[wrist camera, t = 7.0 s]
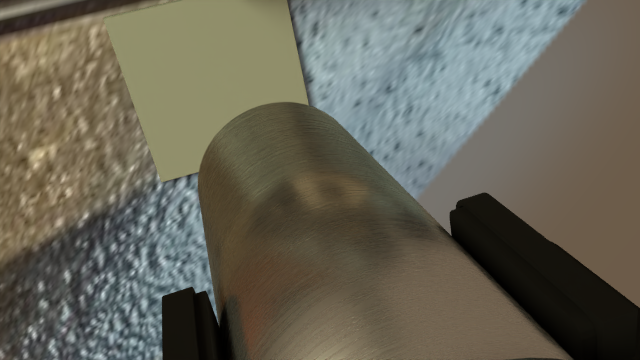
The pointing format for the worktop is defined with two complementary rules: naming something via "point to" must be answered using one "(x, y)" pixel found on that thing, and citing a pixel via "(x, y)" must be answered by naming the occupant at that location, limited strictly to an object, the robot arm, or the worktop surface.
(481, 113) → the worktop surface
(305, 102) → the mat
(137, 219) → the worktop surface
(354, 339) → the grey cylindrical piece
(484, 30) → the worktop surface
